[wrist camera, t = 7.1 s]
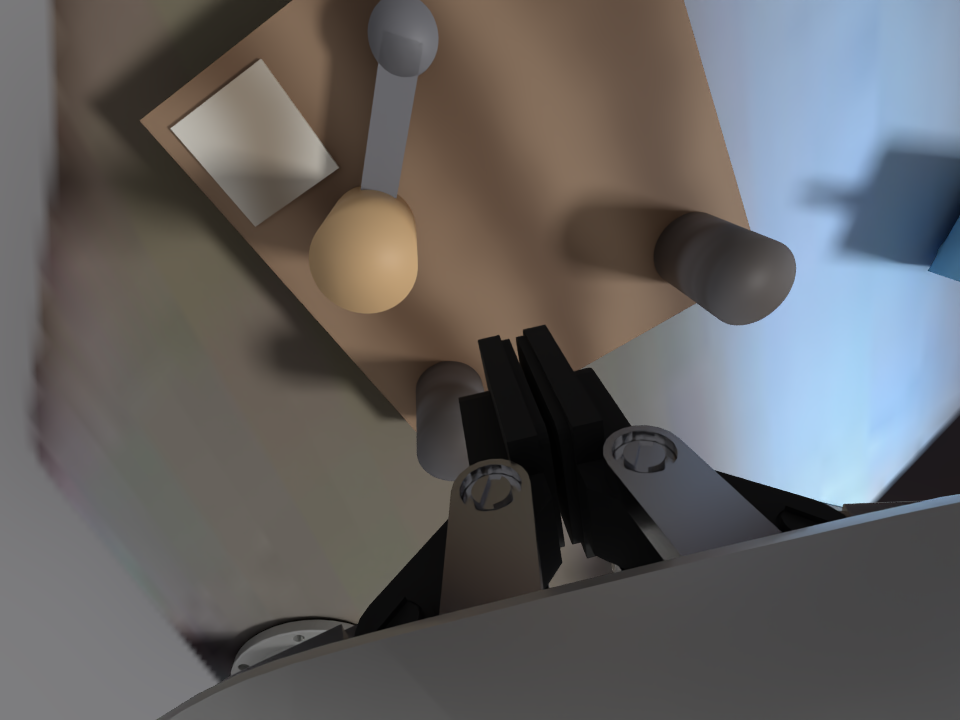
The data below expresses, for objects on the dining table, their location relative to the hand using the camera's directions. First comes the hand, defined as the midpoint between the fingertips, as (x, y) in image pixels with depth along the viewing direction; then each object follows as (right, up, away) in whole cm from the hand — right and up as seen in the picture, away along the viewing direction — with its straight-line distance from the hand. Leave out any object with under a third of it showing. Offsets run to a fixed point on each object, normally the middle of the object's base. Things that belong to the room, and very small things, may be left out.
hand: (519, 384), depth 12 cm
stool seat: (-1, +9, +12) cm, 15 cm away
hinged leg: (-5, +9, +7) cm, 13 cm away
